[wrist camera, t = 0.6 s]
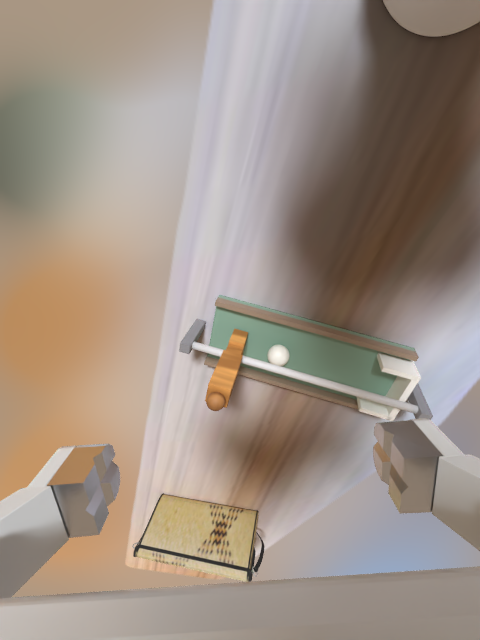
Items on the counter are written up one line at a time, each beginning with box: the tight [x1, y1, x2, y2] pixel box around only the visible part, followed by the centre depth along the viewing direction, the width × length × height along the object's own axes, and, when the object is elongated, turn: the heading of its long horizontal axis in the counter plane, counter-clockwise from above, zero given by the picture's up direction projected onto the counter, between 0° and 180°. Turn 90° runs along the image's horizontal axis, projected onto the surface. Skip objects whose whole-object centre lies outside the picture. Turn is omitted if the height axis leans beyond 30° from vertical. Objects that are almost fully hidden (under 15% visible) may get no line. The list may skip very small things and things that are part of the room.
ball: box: [267, 345, 289, 366], centre depth 52 cm, size 4×4×4 cm
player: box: [205, 329, 248, 411], centre depth 46 cm, size 4×3×16 cm
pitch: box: [179, 295, 433, 421], centre depth 50 cm, size 13×38×8 cm, turn 78°
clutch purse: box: [133, 494, 264, 582], centre depth 75 cm, size 30×7×15 cm, turn 91°
